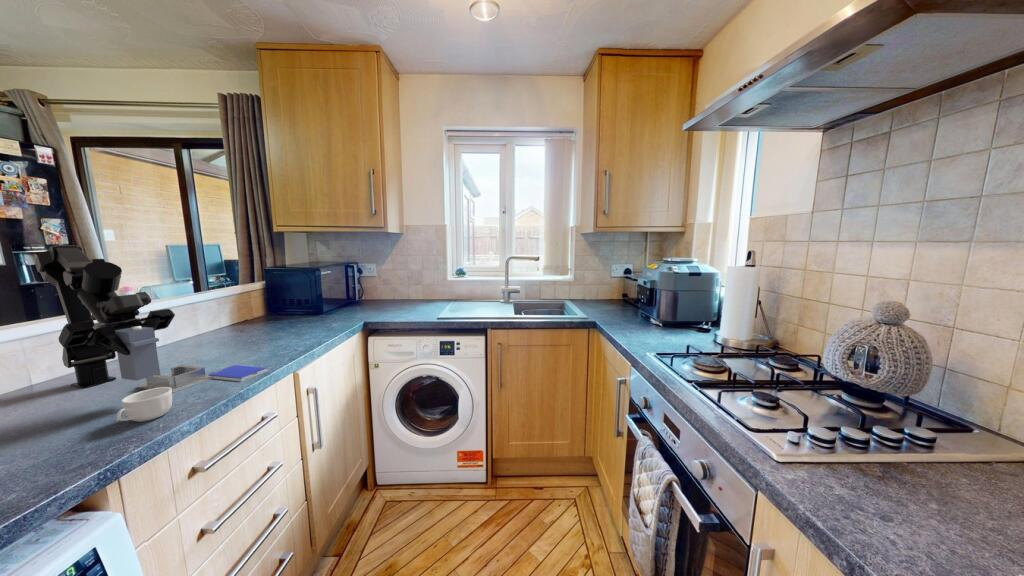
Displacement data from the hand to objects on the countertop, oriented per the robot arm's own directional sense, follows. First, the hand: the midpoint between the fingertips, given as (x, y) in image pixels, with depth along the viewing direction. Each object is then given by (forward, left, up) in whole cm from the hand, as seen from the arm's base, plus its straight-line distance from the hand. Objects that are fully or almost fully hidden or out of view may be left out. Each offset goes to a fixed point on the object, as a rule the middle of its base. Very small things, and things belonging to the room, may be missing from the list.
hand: (142, 351), depth 81 cm
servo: (-2, 0, -7) cm, 7 cm away
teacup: (+10, -6, -13) cm, 18 cm away
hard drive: (+3, +19, -14) cm, 24 cm away
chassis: (-8, +10, -13) cm, 18 cm away
